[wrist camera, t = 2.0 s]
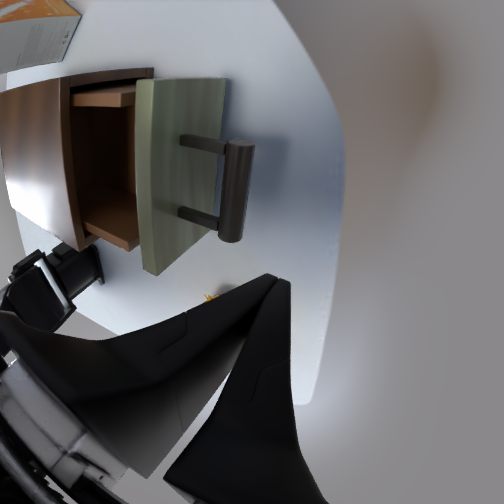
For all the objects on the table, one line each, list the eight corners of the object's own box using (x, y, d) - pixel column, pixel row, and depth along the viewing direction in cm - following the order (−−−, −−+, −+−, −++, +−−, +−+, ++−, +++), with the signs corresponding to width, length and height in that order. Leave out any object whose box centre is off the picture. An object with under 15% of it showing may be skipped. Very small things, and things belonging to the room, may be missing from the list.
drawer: (290, 87, 15) (237, 85, 10) (262, 247, 21) (215, 305, 16) (97, 77, 20) (32, 90, 14) (101, 189, 26) (48, 217, 21)
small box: (83, 15, 17) (-33, 30, 7) (62, 63, 21) (-42, 90, 11) (59, -6, 16) (-37, 6, 6) (41, 36, 20) (-48, 57, 10)
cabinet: (153, 67, 18) (59, 77, 12) (151, 206, 25) (79, 252, 19) (62, 76, 22) (-4, 93, 15) (68, 177, 29) (11, 206, 23)
